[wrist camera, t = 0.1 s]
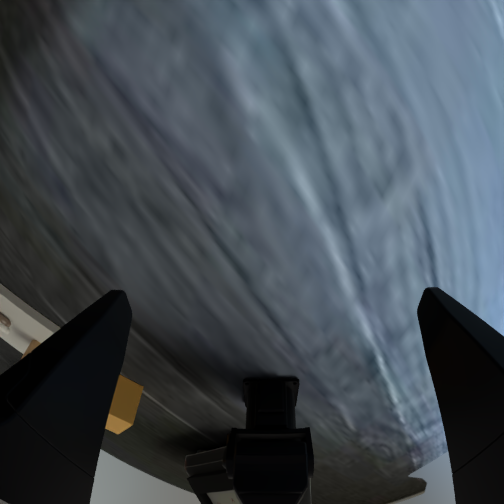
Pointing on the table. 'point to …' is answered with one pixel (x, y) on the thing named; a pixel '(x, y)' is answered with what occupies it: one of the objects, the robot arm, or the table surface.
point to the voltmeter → (216, 478)
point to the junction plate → (22, 323)
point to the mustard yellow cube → (123, 405)
